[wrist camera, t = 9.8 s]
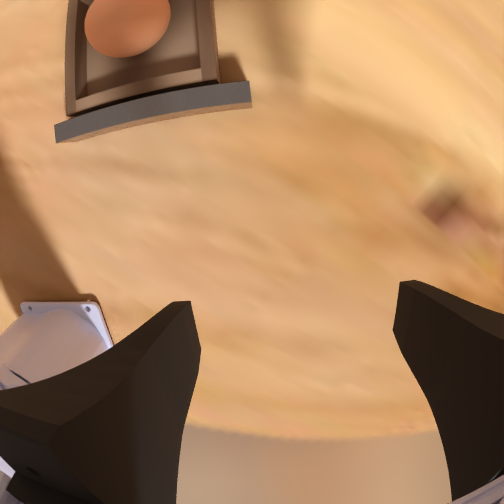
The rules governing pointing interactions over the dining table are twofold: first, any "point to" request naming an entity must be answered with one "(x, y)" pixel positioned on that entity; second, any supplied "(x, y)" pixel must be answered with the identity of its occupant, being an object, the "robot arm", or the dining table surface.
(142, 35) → the ball
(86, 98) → the tray
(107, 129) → the rail
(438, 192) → the dining table surface
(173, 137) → the dining table surface
